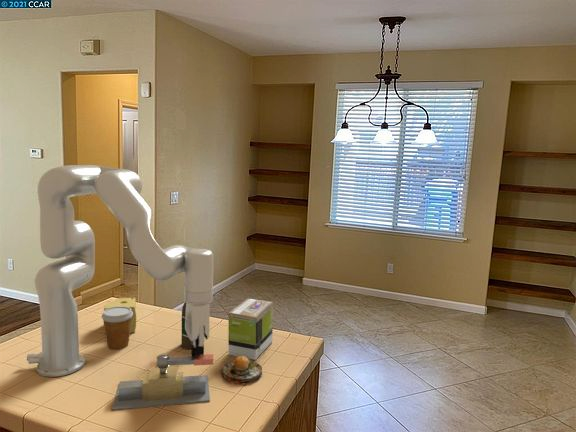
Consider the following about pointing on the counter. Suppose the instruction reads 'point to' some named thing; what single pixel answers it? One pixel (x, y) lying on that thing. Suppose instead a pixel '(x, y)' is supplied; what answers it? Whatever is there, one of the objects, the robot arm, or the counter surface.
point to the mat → (146, 403)
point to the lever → (184, 360)
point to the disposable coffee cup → (117, 326)
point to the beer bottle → (185, 339)
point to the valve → (162, 385)
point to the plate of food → (242, 371)
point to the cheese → (127, 303)
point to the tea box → (250, 328)
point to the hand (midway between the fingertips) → (197, 358)
